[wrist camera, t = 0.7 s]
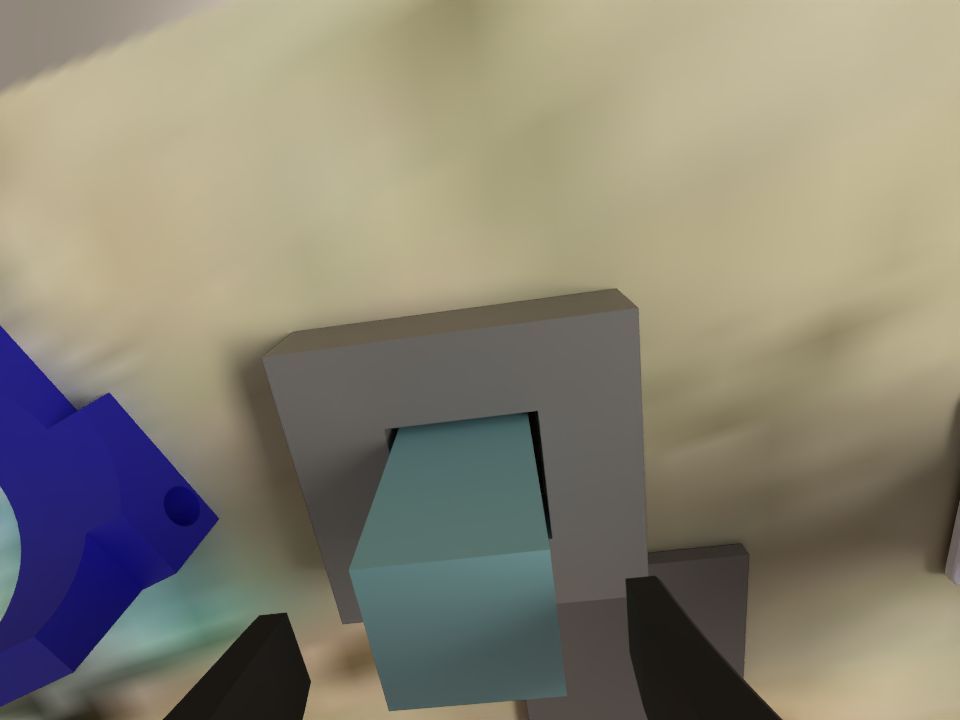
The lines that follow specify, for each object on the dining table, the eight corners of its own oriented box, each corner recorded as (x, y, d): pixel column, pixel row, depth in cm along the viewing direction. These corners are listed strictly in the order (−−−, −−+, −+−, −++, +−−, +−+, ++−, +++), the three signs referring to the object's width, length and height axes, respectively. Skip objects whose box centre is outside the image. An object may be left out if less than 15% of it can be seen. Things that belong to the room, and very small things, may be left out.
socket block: (616, 288, 16) (638, 308, 14) (629, 544, 19) (649, 595, 17) (293, 332, 17) (261, 357, 14) (359, 571, 20) (342, 624, 18)
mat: (741, 543, 19) (749, 554, 19) (735, 709, 22) (741, 723, 22) (506, 567, 20) (507, 578, 19) (531, 725, 23) (532, 739, 22)
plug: (523, 387, 17) (549, 549, 10) (535, 486, 19) (566, 695, 11) (408, 401, 18) (348, 570, 10) (428, 498, 19) (388, 711, 11)
